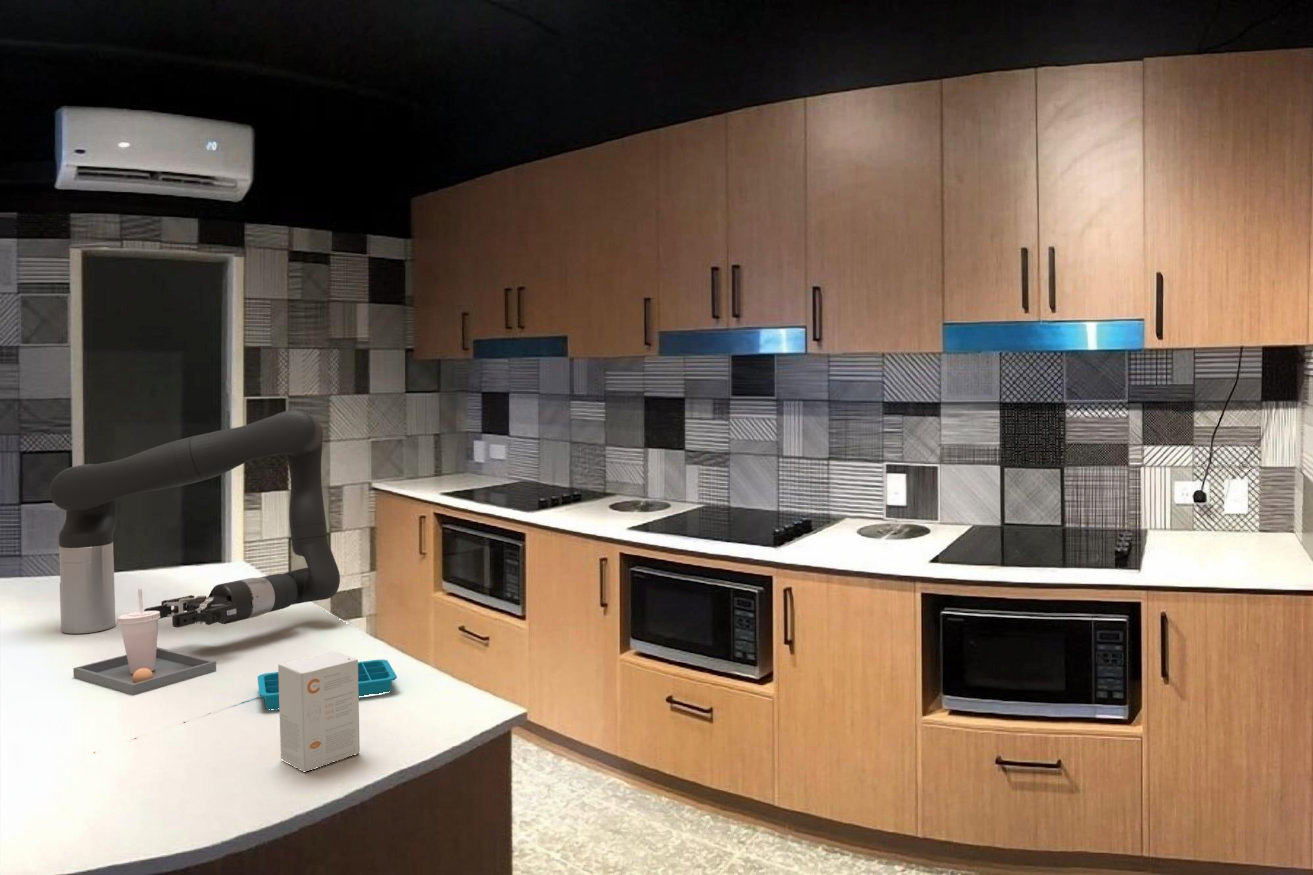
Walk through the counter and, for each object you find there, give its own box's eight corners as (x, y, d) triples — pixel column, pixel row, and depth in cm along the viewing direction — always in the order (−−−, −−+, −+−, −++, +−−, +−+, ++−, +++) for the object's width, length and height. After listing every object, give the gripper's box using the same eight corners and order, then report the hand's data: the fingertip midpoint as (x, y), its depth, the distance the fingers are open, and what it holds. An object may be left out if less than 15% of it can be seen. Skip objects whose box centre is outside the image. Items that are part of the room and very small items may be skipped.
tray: (73, 679, 150) (73, 667, 150) (156, 657, 162) (156, 647, 162) (133, 697, 142) (132, 685, 141) (216, 673, 154) (215, 661, 154)
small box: (335, 742, 124) (334, 649, 123) (361, 754, 120) (359, 658, 119) (278, 761, 118) (276, 663, 117) (303, 774, 114) (301, 673, 113)
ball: (128, 687, 145) (127, 669, 145) (146, 682, 148) (146, 664, 147) (139, 690, 143) (138, 672, 143) (157, 685, 146) (157, 667, 146)
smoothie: (144, 675, 149) (138, 592, 149) (111, 676, 151) (105, 593, 151) (172, 665, 156) (167, 585, 156) (141, 666, 157) (135, 586, 157)
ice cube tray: (257, 692, 145) (257, 674, 145) (386, 675, 154) (386, 658, 154) (260, 716, 135) (259, 696, 134) (398, 696, 143) (398, 678, 143)
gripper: (218, 576, 174) (134, 592, 160) (266, 584, 167) (182, 602, 153) (219, 614, 175) (136, 634, 161) (267, 624, 167) (184, 645, 153)
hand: (159, 618), depth 157 cm, fingers open, 8 cm apart
